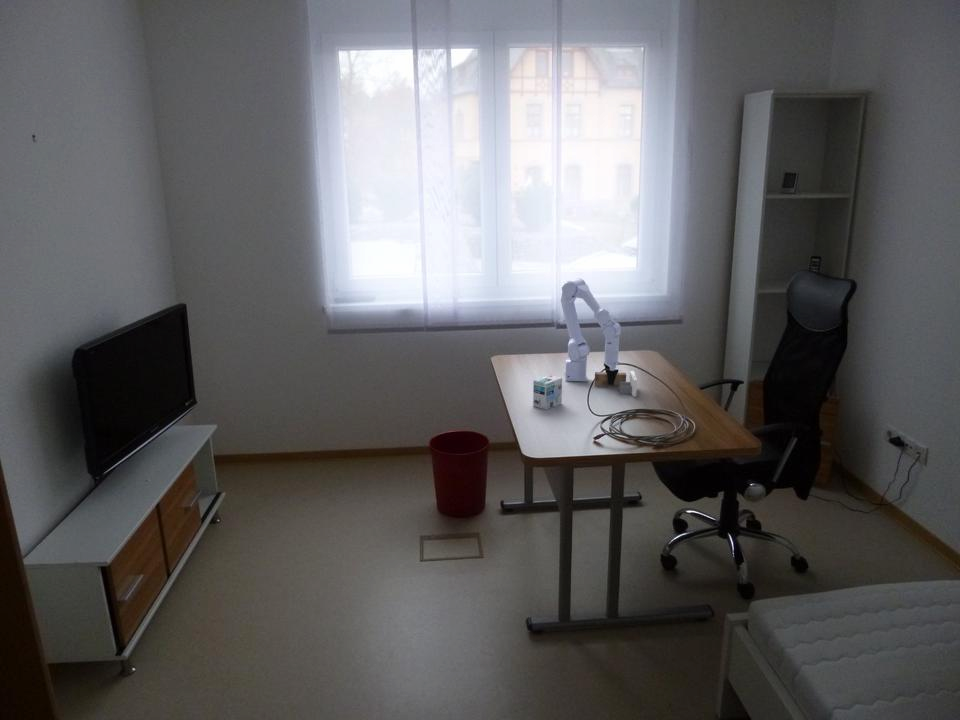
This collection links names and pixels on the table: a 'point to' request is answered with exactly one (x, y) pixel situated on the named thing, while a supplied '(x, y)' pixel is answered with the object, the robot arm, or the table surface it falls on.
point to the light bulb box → (547, 392)
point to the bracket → (629, 385)
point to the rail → (603, 381)
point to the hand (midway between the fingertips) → (610, 382)
